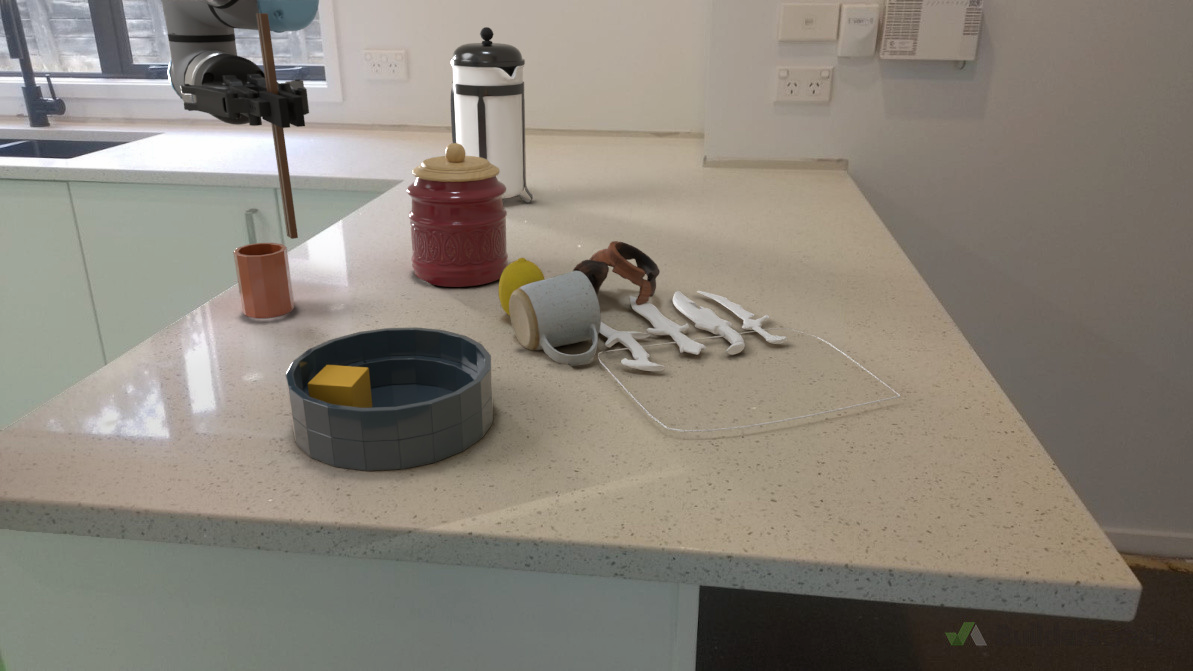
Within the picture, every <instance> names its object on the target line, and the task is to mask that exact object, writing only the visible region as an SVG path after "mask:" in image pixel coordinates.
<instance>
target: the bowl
mask: <svg viewBox="0 0 1193 671" xmlns="http://www.w3.org/2000/svg"><path fill="white" fill-rule="evenodd" d="M326 365H338V366H352V367H367V368H369V376H370V386H371V397H372V408H359V407H351V406H342V405H334V404H330V403H327V402H324V401H321V400H318V399H315V398H312V397H309V390H308V383H309V382H310V381H311V380H312V379H313V378H314V377H315V376H316V375H317V374H318V373H319V372H320V371H321V370H322V369H323V368H324V367H325V366H326ZM492 370H493V369H492V355H491V354H490V353H489V351H488V350H487V349H486V347H485V346H484V345H483V343H481V342H479V341H476V340H475V339H473V338H470V337H469V336H467V335H464V334H461V333H456V332H452V331H448V330H446V329H439V328H438V329H437V328H429V327H427V328H426V327H415V326H414V327H386V328H385V327H383V328H378V329H370V330H363V331H358V332H354V333H349V334H346V335H342V336H339V337H335V338H331V339H329V340H326V341H324V342H322V343H319V344H317V345H315V346H313V347H310V348H308V349H307V350H306V351H304V352H303V353H301V354H300V355H299V356H298V357H296V358H295V359H293V360H292V362H291V364H290V365H289V367H288V369H287V371H286V372H285V381H286V389H287V396H288V402H289V411H290V418H291V425H292V426H291V427H292V431H293V435H294V440H295V444H296V446H297V447H298V448H299V449H301V450H302V452H304V453H305V454H306V455H307V456H308V457H310V458H311V459H313V460H316V461H319V462H321V463H324V464H327V465H329V466H332V467H335V468H341V469H348V470H357V471H362V472H363V471H364V472H371V471H372V472H373V471H396V470H407V469H410V468H416V467H420V466H426V465H430V464H435V463H438V462H439V461H442V460H444V459H447V458H450V457H452V456H455V455H458V454H460V453H462V452H464V451H465V450H467V449H469V448H470V447H472V446H473V445H474V444H476V443H477V442H479V441H480V440H481V439H483V438H484V436H485V435H486V433H487V432H488V430H489V429H490V427H491V426H492V424H494V423H493V422H494V401H493V400H494V398H493V373H492V372H493V371H492Z"/></svg>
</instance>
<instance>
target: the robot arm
mask: <svg viewBox="0 0 1193 671" xmlns="http://www.w3.org/2000/svg"><path fill="white" fill-rule="evenodd" d="M160 1H161V7H162V11H163V17H164V21H165V22H164V23H165V26H166V31H167V39H168V41H167V44H168V49H169V55H170V61H169V63H168V66H167V76H168V81H169V83H170V86H171V88H172V90H173V91H174V93H176V95H177V96H178V97H179V98H180V100H182V104H183V110H185V111H188V112H192V111H196V112H201V113H206V114H208V115H210V116H212V117H213V118H215V119H217V120H219V121H222V122H223V123H225V124H230V125H237V126H238V125H239V126H240V125H247V124H249V126H251V127H252V126H253V127H257V126H262V125H263V122H262V120H263V121H265V122H268V123H270V124H271V123H272V124H274V125H277V126H279V127H281V128H283V129H287V128H288V129H289V128H291V125H292V126H293V127H297V128H299V127H302V128H303V127H306V122H305V116H306V115H308V114H310V106H309V99H308V91H307V88H306V87H305V85H304V80H303V79H301V78H295V79H294V80H288V81H287V80H286V81H284V82H281V83H280V82H279V81H277V86H278V94H279V95H277V94H274V93H271V92H268V91H267V89H266V81H265V74H264V70H263V69H262V68H261V67H260V66H259V65H257V64H256V63H255V62H254V61H252V60H251V59H248V58H246V57H243V56H240V55H238V51H237V43H236V34H235V29H239V30H250V31H251V30H253V31H258V24H257V17H256V14H257V13H267V14H268V19H269V26H270V32H273V33H277V34H281V33H284V32H298V31H301V30H304V29H306V28H307V27H308V26H310V25H311V24H312V22H313V21H314V19H315V18H316V16H317V13H318V10H319V4H320V0H160ZM272 124H271V125H272Z"/></svg>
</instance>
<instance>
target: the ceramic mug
mask: <svg viewBox="0 0 1193 671" xmlns="http://www.w3.org/2000/svg"><path fill="white" fill-rule="evenodd" d="M509 312H510V316H509V318H510V324H511V328H512V330H513V332H514V335H515V338H516V339H517V341H518V342H519V344H520V345H521V346H522V347H523V348H524V349H527V350H529V351H543V352H544V353H545V354H546V356H548V357H549V358H550V359H551V360H552V361H554V362H555V363H558V364H562V365H564V364H565V365H568V366H579V365H583V364H587V363H588V362H590V361H591V360H593V359H594V357H595V355H596V354H597V351H598V345H599V344H598V343H599V334H600V332H599V330H600V325H601V322H602V314H601V306H600V302H599V298H598V294H597V295H596V292H595V290H594V288H593V286H592V284H591V282H590V280H589V279H588V277H587V276H586V275H585V274H583V273H582V272H580V271H573V270H571V271H569V272H566V273H562V274H559V275H555V276H552V277H549V278H545V280H541V281H537V282H533V283H530V284H526V285H524V286H522V287H520V288H518V289H516V290H514V291H513V293H512V295H511V297H510V301H509ZM590 340H591V341H592V345H591V346H590V348H589V349H588V350H587V351H585V352H583V353H582V352H581V353H576V354H568V353H563V352H561V351H559V350H557V349H556V348H557V347H561V346H568V345H573V344H577V343H581V342H582V343H583V342H587V341H590Z"/></svg>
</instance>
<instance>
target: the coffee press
mask: <svg viewBox="0 0 1193 671" xmlns="http://www.w3.org/2000/svg"><path fill="white" fill-rule="evenodd" d="M494 35H495V33H494V31H493V29H492V28H490V27H489V26H488V27H487V26H486V27H482V28H481V30H480V33H479V36H480V38H481V40H482V41H481V42H472V43H471V42H470V43H465V44H461V45H460V46H458V47H457V48H455V50H454V51H453V53H452V57H451V58H450V59H449V63H450V66H451V67H452V80H453V81H451V91H450V124H451V139H452V140H451V141H452V143H458V144H461V145H462V146H463V147H464V149H465V153H466V155H465V156H475V157H481V158H484V159H487V160H488V161H489V163H491V164H492V165H494V166H496V167H498V168H499V170H500V172H499V174H498V175H496V177H497V179H498V181H500V182H501V183H503V184H504V185H505V186H506V192H505V193H504V194H503V196H502V199H503V200H505V199H510V198H514V197H515V198H516V197H517V198H519V199H521V200H522V201H523V202H524V203H526V204H530V203H531V202H532V200H533V199H534V196H533V194H532V193H531V192H530V190H529V189H528V186H527V168H526V167H527V160H526V159H527V157H526V154H527V153H526V109H525V108H526V107H525V106H526V104H525V81H524V67H525V64H526V59H524V58H523V55H522V53H521V51H520V50H519V49H518V48H517V47H516V46H514V45H511V44H508V43H501V42H493V41H492V39H493V37H494ZM524 190H525V192H526V194H527V196H528V197H529V198H530V200H527V198H525V197H524V196H523V195H521V194H522V193H523V191H524Z"/></svg>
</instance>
